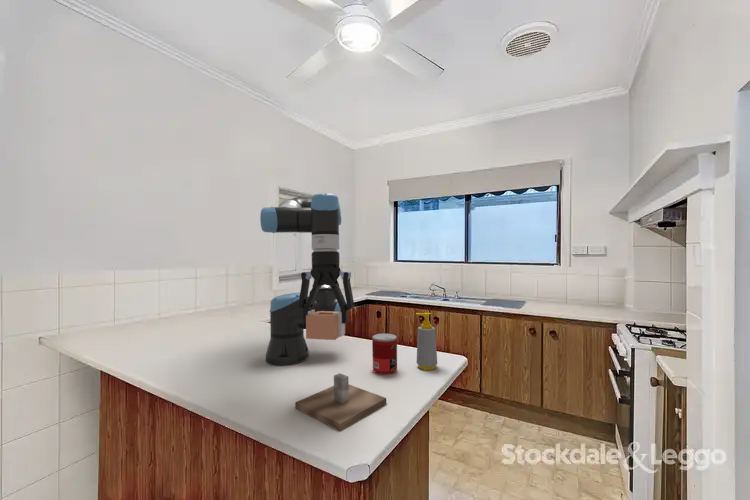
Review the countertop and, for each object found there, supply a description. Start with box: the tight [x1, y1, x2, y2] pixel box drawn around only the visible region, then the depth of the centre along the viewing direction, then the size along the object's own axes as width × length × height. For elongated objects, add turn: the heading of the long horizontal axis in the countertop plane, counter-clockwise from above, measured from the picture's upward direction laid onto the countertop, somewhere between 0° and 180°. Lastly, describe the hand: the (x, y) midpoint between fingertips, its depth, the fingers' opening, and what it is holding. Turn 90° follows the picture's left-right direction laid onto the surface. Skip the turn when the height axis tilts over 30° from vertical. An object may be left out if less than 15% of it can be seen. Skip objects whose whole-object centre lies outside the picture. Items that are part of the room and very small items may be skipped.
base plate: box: [294, 372, 387, 431], centre depth 82 cm, size 16×16×8 cm
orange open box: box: [305, 311, 340, 341], centre depth 89 cm, size 8×8×6 cm
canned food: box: [371, 333, 398, 375], centre depth 106 cm, size 8×8×11 cm
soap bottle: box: [415, 312, 438, 371], centre depth 108 cm, size 7×7×18 cm
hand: (326, 334), depth 88 cm, fingers closed on orange open box, 8 cm apart
